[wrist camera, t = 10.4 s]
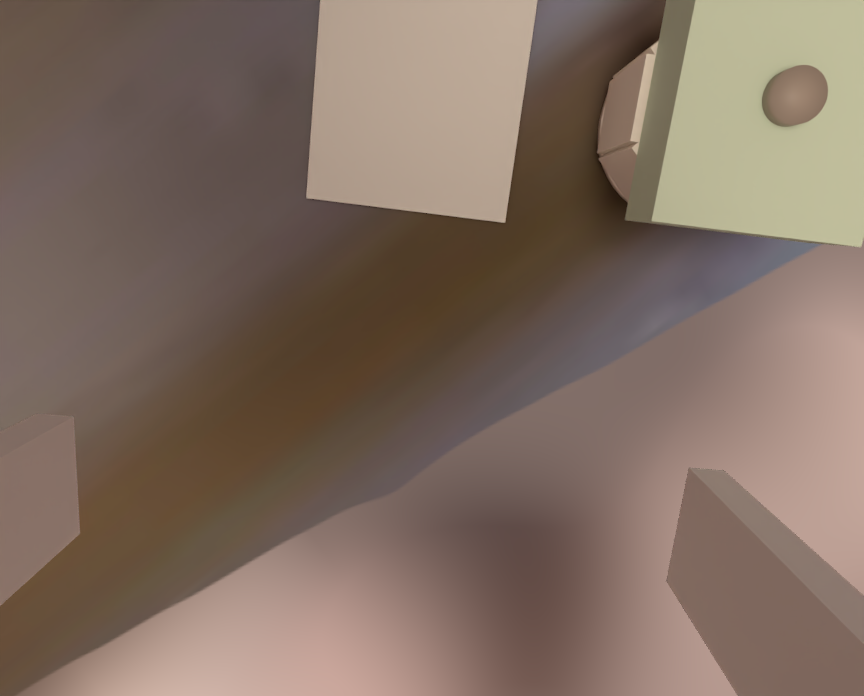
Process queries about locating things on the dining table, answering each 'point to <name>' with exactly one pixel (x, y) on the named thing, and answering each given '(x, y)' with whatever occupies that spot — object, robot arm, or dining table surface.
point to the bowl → (625, 120)
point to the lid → (756, 121)
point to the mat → (419, 104)
